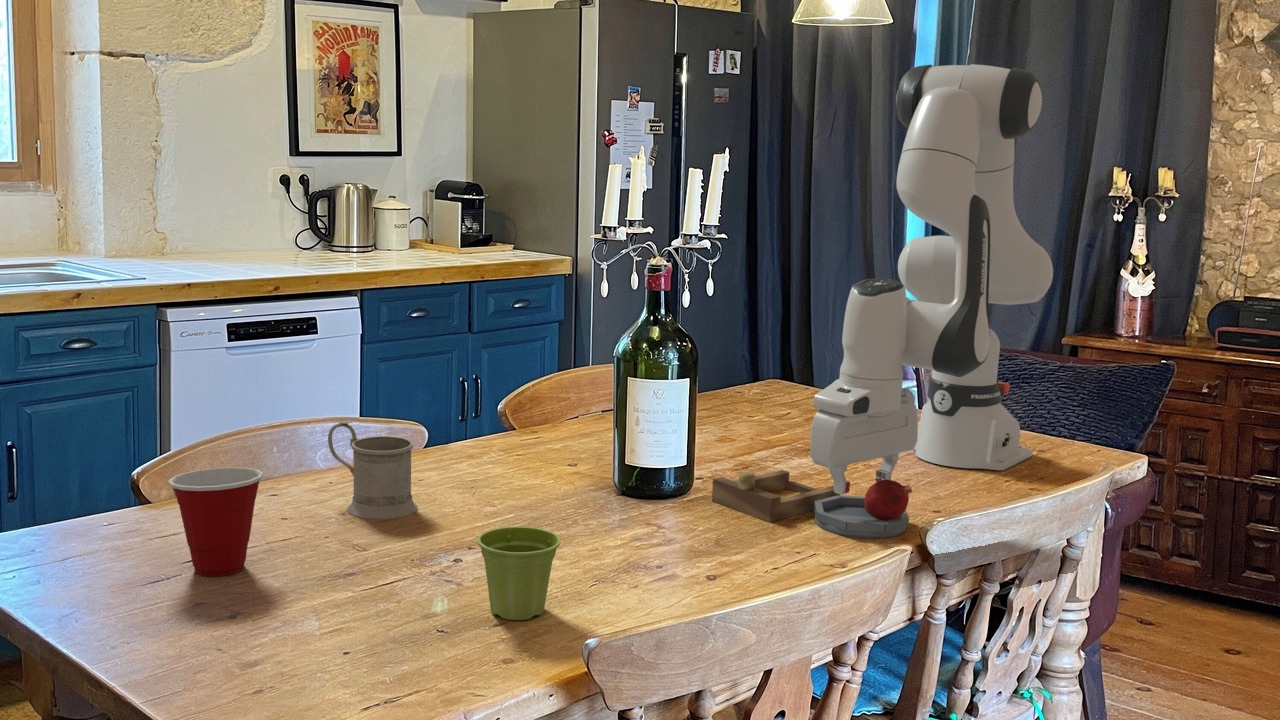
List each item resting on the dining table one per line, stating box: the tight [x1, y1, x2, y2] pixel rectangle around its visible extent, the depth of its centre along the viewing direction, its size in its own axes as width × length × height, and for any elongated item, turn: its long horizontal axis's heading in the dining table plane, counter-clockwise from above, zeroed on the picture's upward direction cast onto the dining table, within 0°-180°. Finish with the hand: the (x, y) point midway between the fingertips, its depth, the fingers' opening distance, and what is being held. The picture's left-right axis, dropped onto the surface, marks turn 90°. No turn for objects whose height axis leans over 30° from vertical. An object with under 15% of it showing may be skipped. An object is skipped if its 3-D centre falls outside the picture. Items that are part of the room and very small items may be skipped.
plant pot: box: [476, 526, 561, 621], centre depth 139 cm, size 9×9×9 cm
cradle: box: [711, 469, 840, 523], centre depth 184 cm, size 16×12×6 cm
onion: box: [864, 479, 913, 521], centre depth 173 cm, size 6×6×8 cm
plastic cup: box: [167, 467, 264, 577], centre depth 148 cm, size 11×11×12 cm
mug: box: [327, 419, 418, 521], centre depth 174 cm, size 14×10×12 cm
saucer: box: [813, 494, 910, 540], centre depth 176 cm, size 13×13×2 cm
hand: (862, 487), depth 175 cm, fingers open, 8 cm apart
